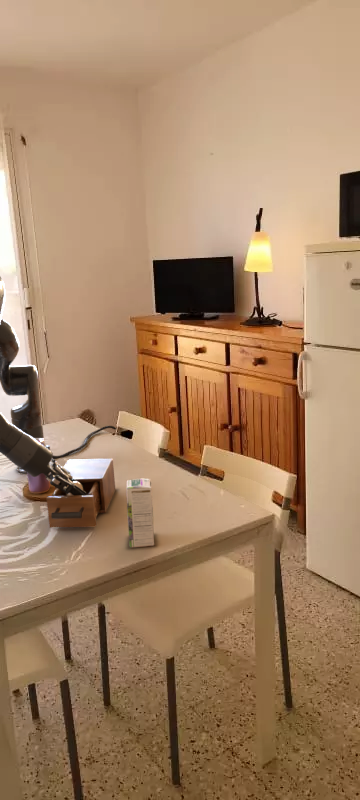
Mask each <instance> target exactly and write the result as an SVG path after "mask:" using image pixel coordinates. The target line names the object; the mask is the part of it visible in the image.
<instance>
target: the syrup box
mask: <svg viewBox="0 0 360 800" xmlns="http://www.w3.org/2000/svg"><path fill="white" fill-rule="evenodd" d="M153 509H154V507H153V491H152V481H151V478H133V479H127V480H126V511H127V512H126V513H127V523H128V525H127V528H128V541H129V542H128V543H129V548H130V549H131V548H142V547H152V546H153V547H154V546H155V530H154V510H153Z"/></svg>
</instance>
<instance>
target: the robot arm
mask: <svg viewBox="0 0 360 800" xmlns="http://www.w3.org/2000/svg"><path fill="white" fill-rule="evenodd" d="M5 302H6V289H5V283H4V280H3V279H2V277H1V276H0V385H1V388H2V391H3V392H4V393H5V394H6V395H7V396H10V397H19V396H20V397H21V396H27V399H26V400H25V401H24V402H22V403H20V404H17V405H15V406H13V407H12V408H11V409H10V420H11V422H10V421H9V420H8V419H7V418H6V417H5V415H3V413H2V412H0V454H2V455H3V456H5V457H6V459H8V460H9V461H10V462H11V463H13V464H14V465H15V467H16V470H17V471H18V472H19V473H24V474H27V473H28V474H30V475H31V476H33V477H37V476H39V474H41V473H43V474H44V475H45V476H46V477H45V478H46V479H47V480H48V481H50V486H53V487H54V488H55V487H56V488H58V489H60V490H61V491H63V492H65V493H66V494H68V493H71V494H73V495H74V496H76V495H86V492H85V491H83V490H82V489H81V488H79V487H78V486H77V485H75V483H73V482H74V481H76V482H78V481H77V480H75V479H74V478H73V476H72V475H70V474H71V473H70V472H68V471H67V470H66V469H65V468H64V466H63V465H61V464H60V463H59V462H58V461H57V460H56V459H59V458H64V457H68V456H69V455H71V454H73V453H76V452H78V451H80V450H83V448H84V447H86V445H87V444H88V441H89V439H90V438H91V437H92V436H94V435H96V434H97V433H99V432H102V431H104V430H106V429H112V430H114V431H115V430H117V427H115V426H114V425H105V426H103V427H101V428H98V429H96V430H94V431H92V432H90V433H89V434H88V435H87V436H86V438H85V439H84V442H83V443H82V444H81V445H80V446H78V447H76V448H73V449H72V450H69V451H67V452H66V453H63V454H60V455H54V453H53V451H52V450H51V445H50V444H49V445H47V444H45V445H46V447H45V446H43V445H42V444H41V443H39V442H38V441H37V440H35V439H34V438H42V439H44V440H45V435H44V428H43V426H44V425H43V418H42V408H41V399H40V398H41V396H40V384H39V383H40V381H39V379H40V378H39V372H38V370H37V367H36V366H35V365H34V364H33V365H32V364H26V365H12V363H13V362H14V361H15V359H16V358H17V356H18V353H19V351H20V341H19V338H18V337H17V334H16V332H15V329H14V328H13V326H12V325H11V324H10V323H9V322H7V321H6V320H5V319H3V318H2V316H3V311H4V307H5ZM80 484H81V483H80ZM65 485H69V486H68V487H67V488H66V487H65ZM81 485H82V484H81ZM82 486H83V485H82ZM83 489H84V486H83Z"/></svg>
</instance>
